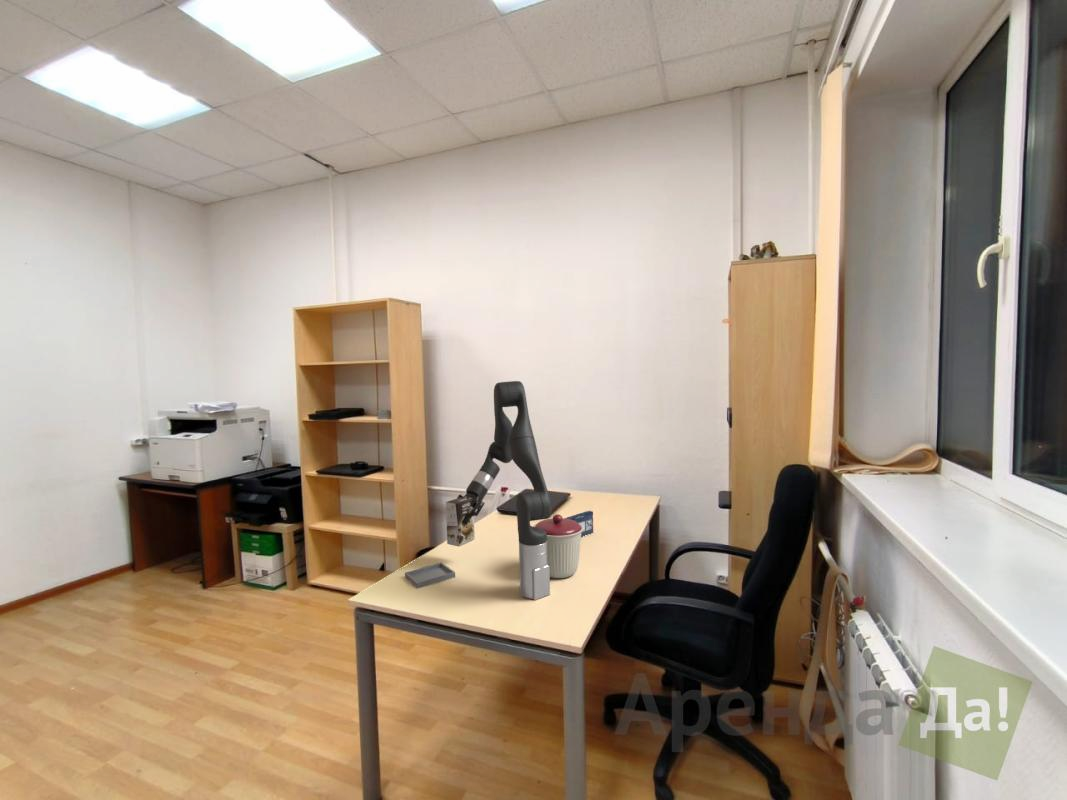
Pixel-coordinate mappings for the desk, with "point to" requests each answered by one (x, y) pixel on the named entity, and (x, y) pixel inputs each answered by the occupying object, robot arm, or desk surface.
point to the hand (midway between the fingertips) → (457, 521)
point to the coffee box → (459, 522)
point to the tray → (429, 575)
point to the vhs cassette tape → (584, 521)
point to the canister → (562, 545)
